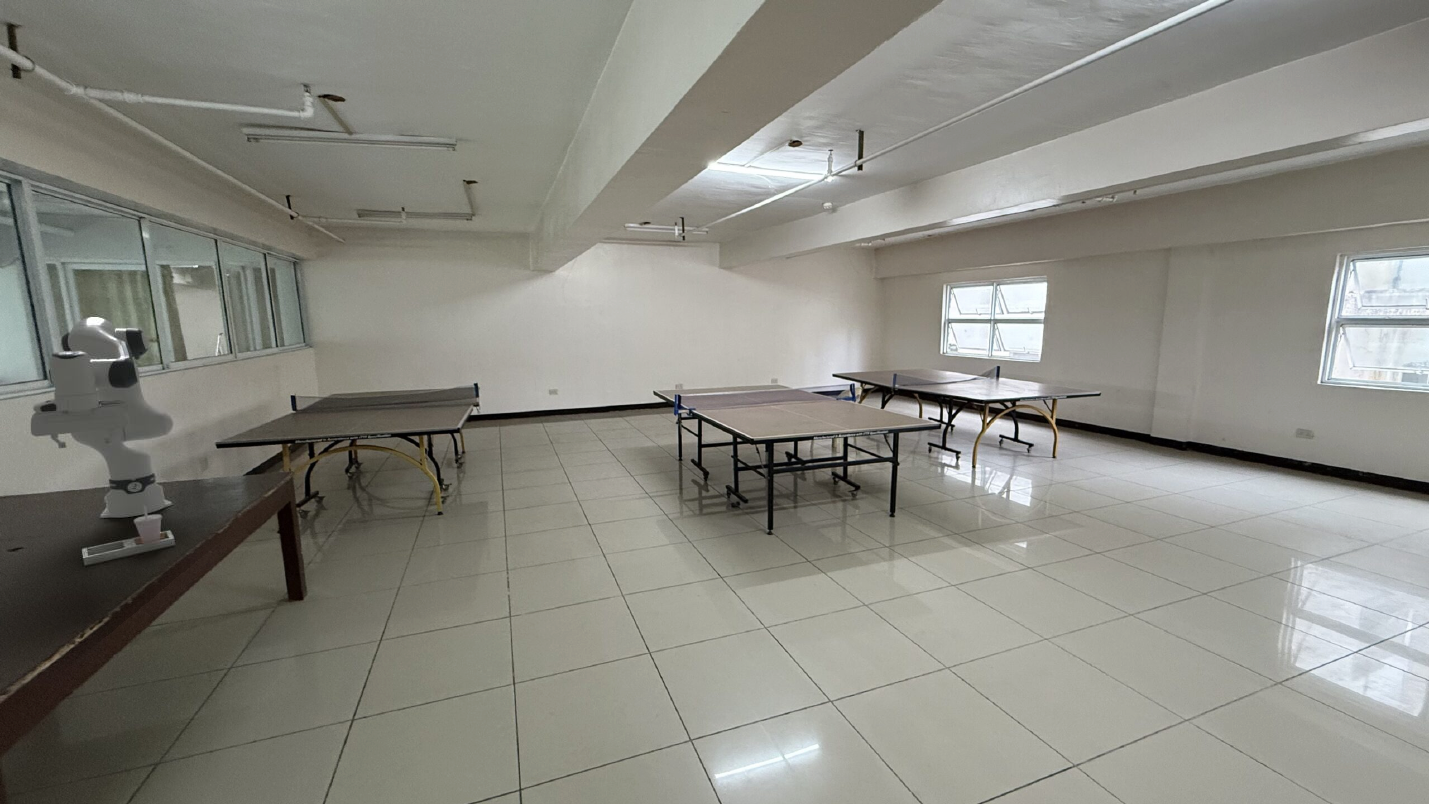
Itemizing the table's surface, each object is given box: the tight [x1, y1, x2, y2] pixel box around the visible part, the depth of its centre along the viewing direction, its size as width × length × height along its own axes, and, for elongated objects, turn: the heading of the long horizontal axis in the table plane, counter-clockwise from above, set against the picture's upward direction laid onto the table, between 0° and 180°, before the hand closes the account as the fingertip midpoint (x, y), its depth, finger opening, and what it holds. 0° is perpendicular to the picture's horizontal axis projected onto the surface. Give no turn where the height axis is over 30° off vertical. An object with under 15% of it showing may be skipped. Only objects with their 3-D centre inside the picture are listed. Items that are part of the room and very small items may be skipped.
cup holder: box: [81, 530, 176, 566], centre depth 171 cm, size 10×20×2 cm, turn 142°
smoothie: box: [133, 506, 163, 544], centre depth 173 cm, size 6×6×14 cm
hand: (85, 445), depth 168 cm, fingers open, 8 cm apart
